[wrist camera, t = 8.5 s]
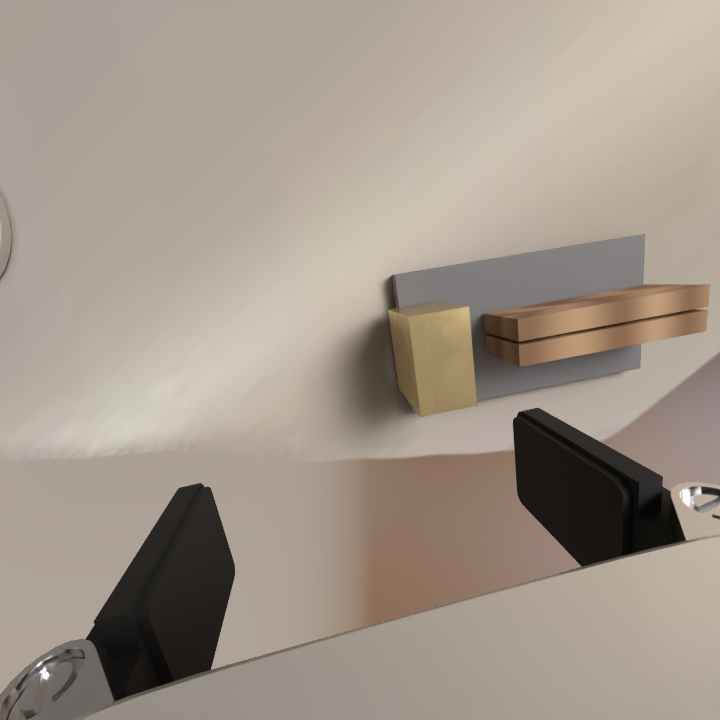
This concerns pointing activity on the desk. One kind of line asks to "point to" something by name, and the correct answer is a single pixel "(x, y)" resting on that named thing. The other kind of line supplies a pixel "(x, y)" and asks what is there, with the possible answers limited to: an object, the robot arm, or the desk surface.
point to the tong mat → (528, 287)
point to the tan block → (434, 356)
